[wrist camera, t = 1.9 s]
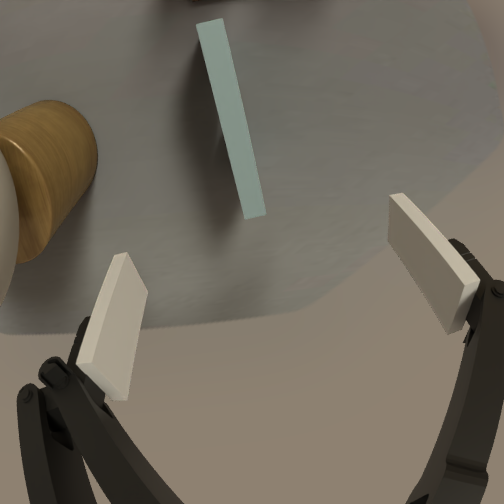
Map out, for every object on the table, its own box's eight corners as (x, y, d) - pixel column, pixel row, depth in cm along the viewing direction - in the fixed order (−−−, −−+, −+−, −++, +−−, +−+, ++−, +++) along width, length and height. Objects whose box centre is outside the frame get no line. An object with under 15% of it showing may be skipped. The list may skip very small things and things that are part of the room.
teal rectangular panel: (238, 176, 30) (244, 219, 23) (203, 31, 21) (195, 24, 15) (255, 173, 30) (266, 214, 23) (222, 27, 21) (222, 18, 15)
